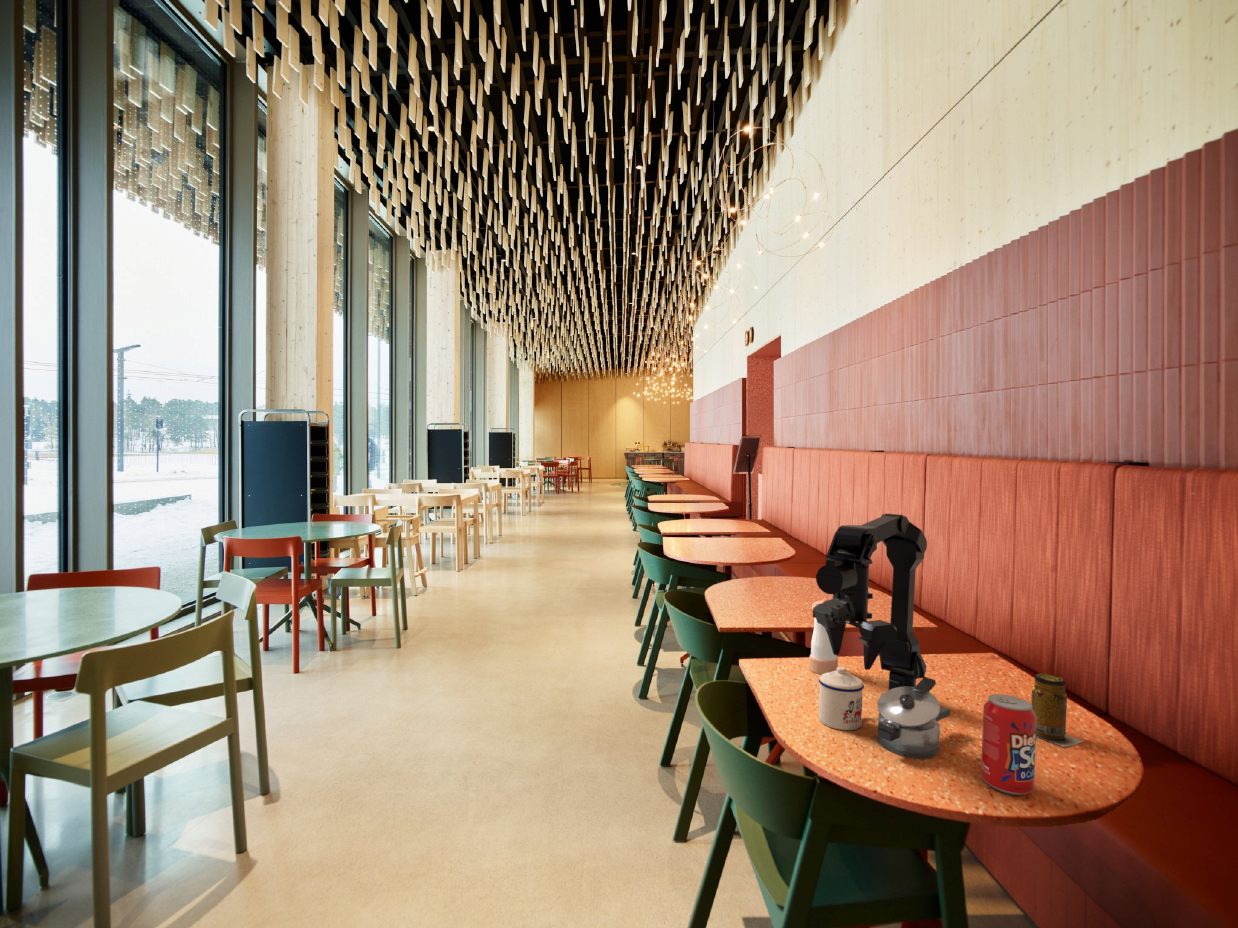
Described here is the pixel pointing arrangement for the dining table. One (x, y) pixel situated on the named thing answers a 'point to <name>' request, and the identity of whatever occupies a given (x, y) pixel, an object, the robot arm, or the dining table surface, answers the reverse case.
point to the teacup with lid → (840, 700)
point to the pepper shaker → (821, 649)
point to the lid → (909, 705)
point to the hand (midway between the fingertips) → (851, 661)
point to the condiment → (1051, 710)
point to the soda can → (1009, 744)
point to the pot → (912, 737)
